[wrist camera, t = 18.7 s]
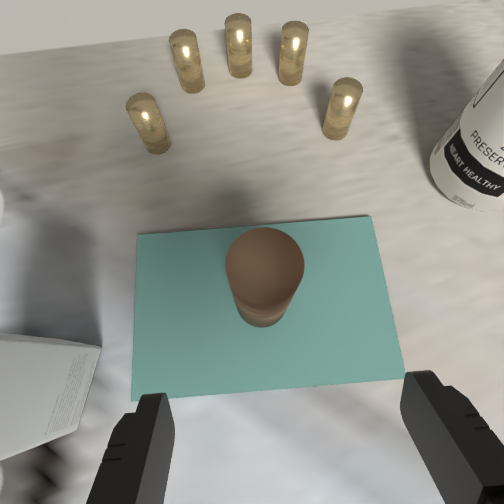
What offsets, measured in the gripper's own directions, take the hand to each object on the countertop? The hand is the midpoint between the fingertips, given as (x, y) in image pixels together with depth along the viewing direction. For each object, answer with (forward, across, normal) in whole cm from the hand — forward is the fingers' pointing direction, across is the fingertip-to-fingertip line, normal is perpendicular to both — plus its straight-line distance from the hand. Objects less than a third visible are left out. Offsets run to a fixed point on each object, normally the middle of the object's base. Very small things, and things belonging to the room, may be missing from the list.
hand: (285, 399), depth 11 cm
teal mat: (+14, 0, +6) cm, 15 cm away
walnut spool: (+14, 0, +5) cm, 15 cm away
